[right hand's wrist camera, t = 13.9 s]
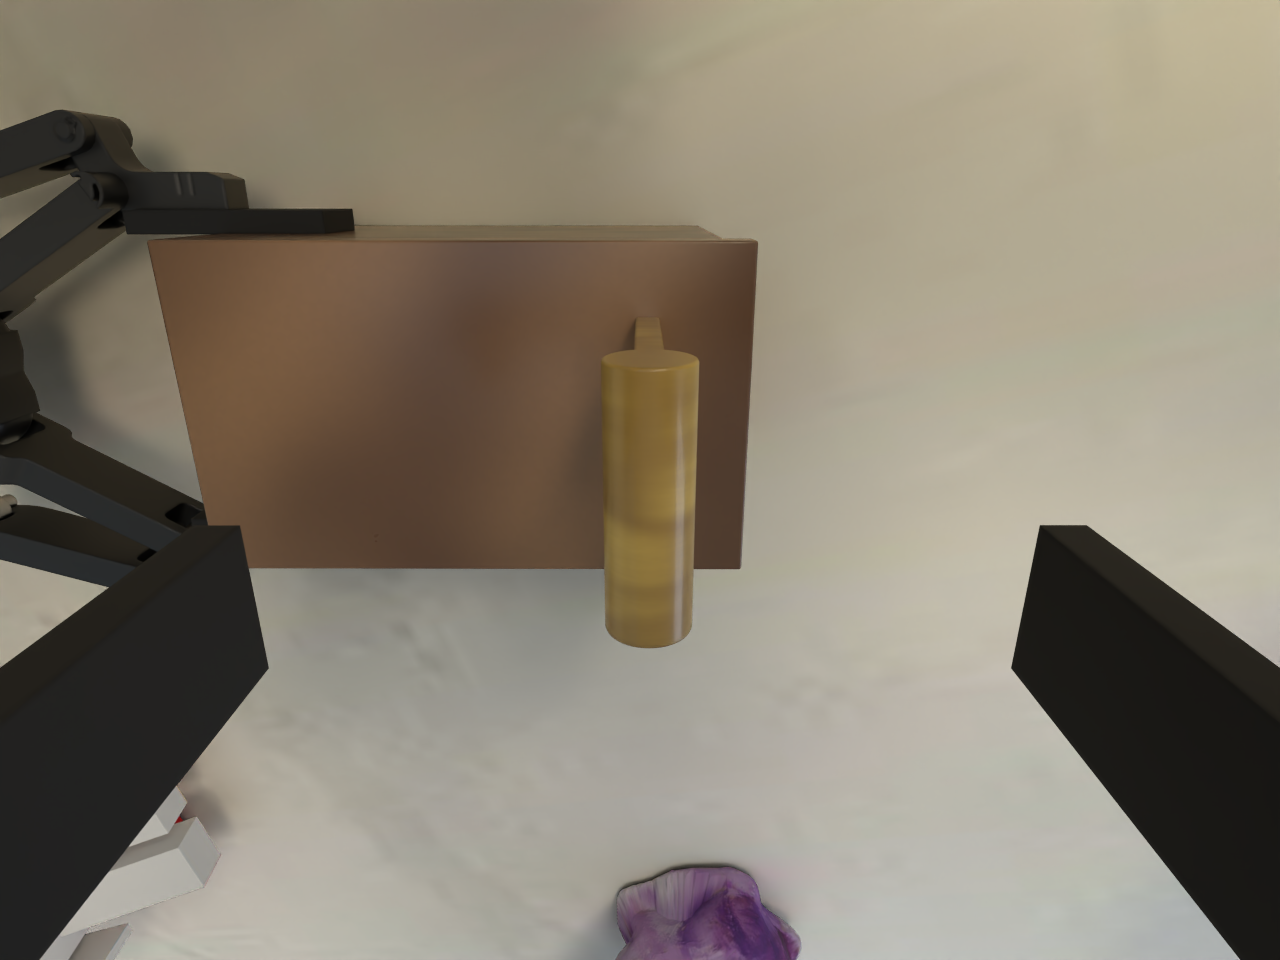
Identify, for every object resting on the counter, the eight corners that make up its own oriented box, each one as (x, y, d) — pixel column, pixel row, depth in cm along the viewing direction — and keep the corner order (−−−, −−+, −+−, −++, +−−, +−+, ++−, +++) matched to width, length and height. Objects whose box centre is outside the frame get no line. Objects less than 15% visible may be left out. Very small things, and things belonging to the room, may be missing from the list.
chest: (699, 225, 32) (724, 238, 22) (693, 455, 36) (712, 553, 26) (315, 225, 32) (171, 237, 22) (347, 454, 36) (235, 552, 26)
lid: (752, 238, 22) (818, 263, 14) (736, 553, 26) (782, 722, 17) (170, 238, 22) (-110, 262, 14) (235, 553, 26) (42, 721, 18)
